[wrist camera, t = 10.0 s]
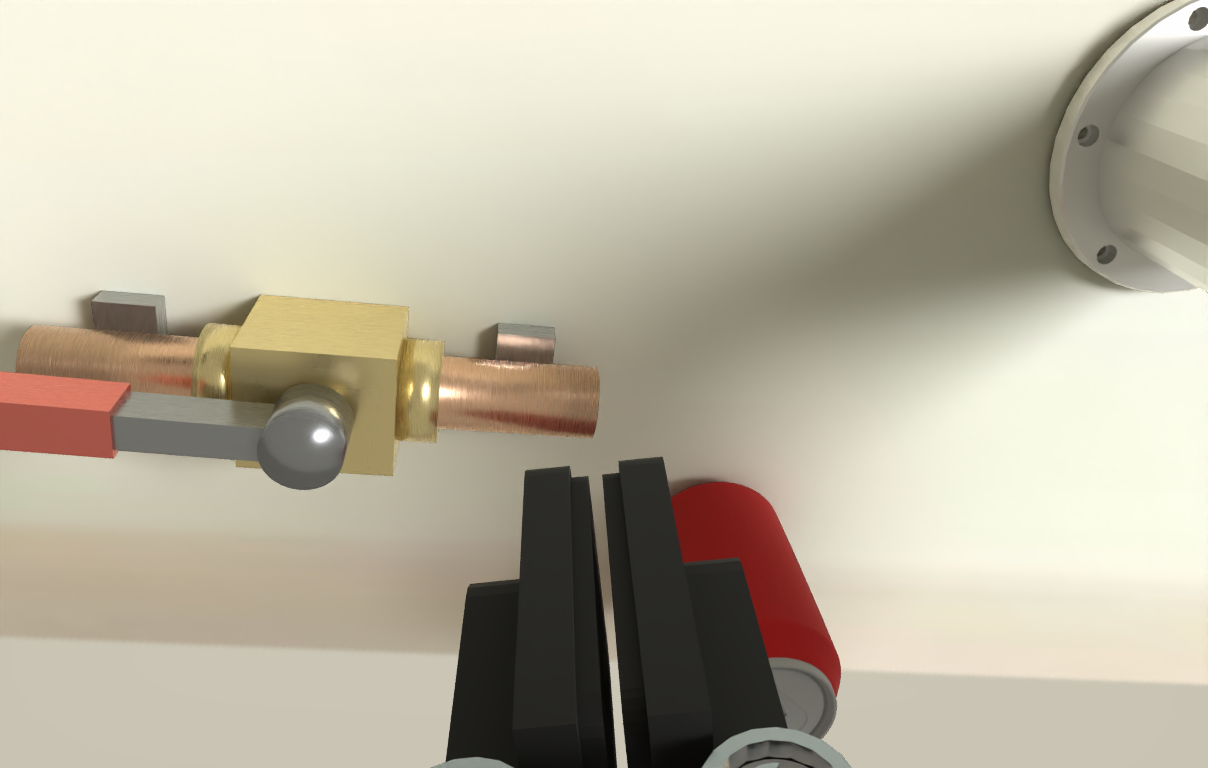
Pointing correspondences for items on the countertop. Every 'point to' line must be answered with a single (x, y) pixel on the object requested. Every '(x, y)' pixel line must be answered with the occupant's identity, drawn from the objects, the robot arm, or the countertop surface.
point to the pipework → (329, 369)
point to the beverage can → (767, 594)
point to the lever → (179, 425)
